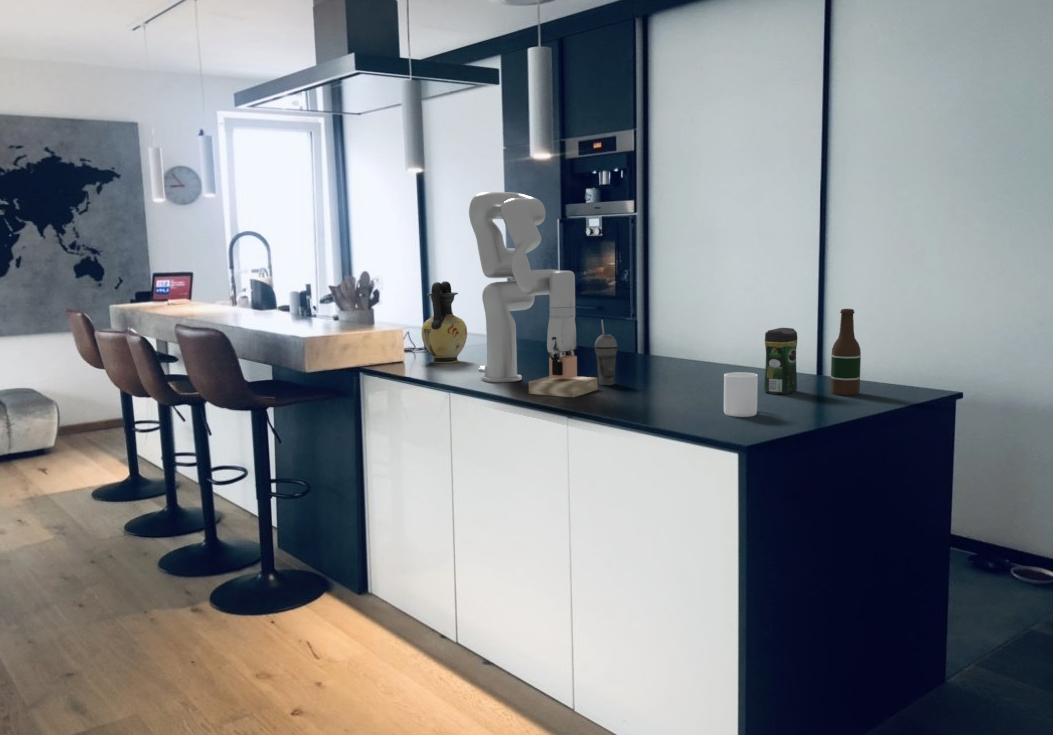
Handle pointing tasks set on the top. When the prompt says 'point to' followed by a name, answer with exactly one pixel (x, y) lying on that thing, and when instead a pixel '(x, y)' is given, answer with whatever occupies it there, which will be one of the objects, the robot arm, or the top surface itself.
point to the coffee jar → (780, 361)
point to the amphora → (443, 326)
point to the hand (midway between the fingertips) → (563, 373)
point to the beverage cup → (606, 357)
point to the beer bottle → (846, 358)
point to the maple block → (563, 386)
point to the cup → (740, 394)
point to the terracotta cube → (565, 367)
